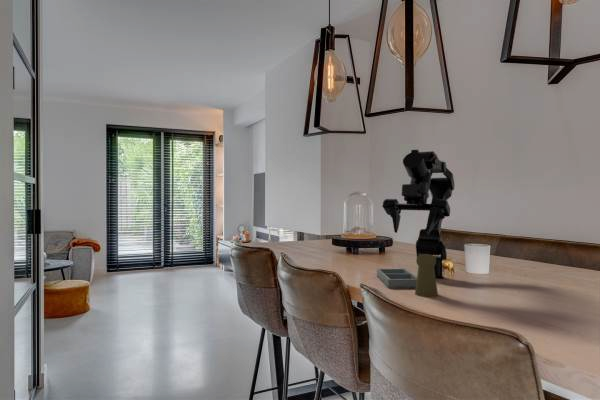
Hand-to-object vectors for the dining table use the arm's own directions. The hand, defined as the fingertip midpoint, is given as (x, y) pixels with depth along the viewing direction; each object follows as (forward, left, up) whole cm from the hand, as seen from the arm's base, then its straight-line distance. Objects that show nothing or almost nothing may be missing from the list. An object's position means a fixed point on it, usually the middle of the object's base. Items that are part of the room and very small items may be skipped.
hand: (411, 233), depth 120 cm
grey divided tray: (+1, -12, -16) cm, 20 cm away
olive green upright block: (-3, +5, -17) cm, 18 cm away
